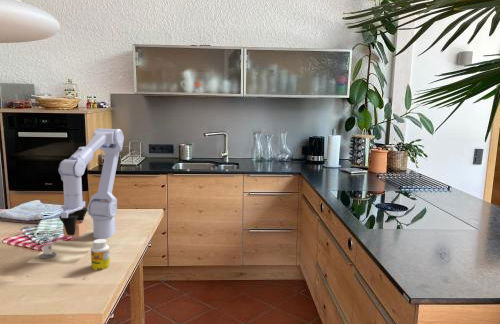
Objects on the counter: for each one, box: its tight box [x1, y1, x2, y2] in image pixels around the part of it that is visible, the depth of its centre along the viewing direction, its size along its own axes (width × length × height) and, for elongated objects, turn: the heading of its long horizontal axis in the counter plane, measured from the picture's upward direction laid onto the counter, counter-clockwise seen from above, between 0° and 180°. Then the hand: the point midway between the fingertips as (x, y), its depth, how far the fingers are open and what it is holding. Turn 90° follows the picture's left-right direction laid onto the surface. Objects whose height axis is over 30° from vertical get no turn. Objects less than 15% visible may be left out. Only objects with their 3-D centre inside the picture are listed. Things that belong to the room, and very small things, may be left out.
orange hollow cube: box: [62, 219, 87, 237], centre depth 136 cm, size 5×5×5 cm
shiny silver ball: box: [39, 244, 56, 259], centre depth 133 cm, size 5×5×5 cm
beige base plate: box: [25, 240, 93, 265], centre depth 137 cm, size 20×16×2 cm
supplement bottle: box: [90, 238, 111, 271], centre depth 126 cm, size 6×6×10 cm
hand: (74, 231), depth 136 cm, fingers closed on orange hollow cube, 5 cm apart
